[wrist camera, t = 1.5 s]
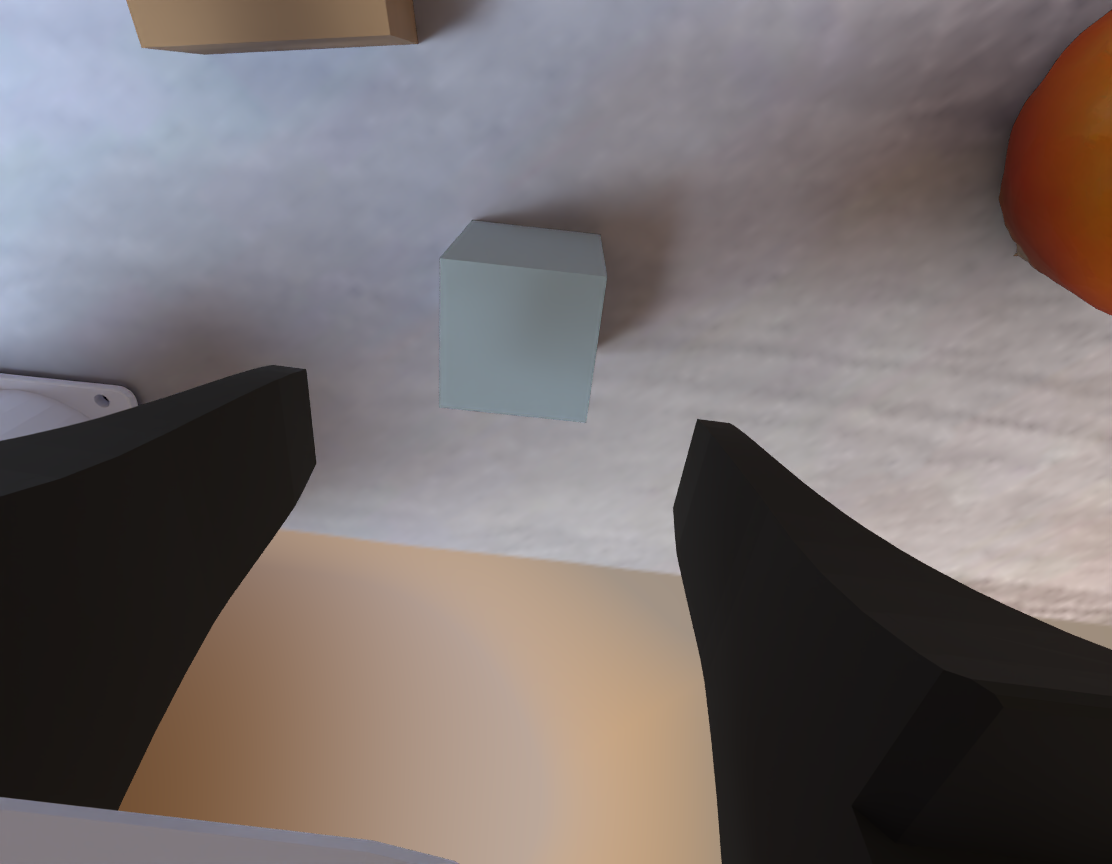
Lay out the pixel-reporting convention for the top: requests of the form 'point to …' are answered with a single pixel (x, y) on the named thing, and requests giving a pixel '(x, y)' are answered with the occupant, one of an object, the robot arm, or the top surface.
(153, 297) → the top surface
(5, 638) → the robot arm
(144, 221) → the top surface
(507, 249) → the grayish teal block
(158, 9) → the walnut block
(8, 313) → the top surface
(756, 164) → the top surface
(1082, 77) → the fruit
